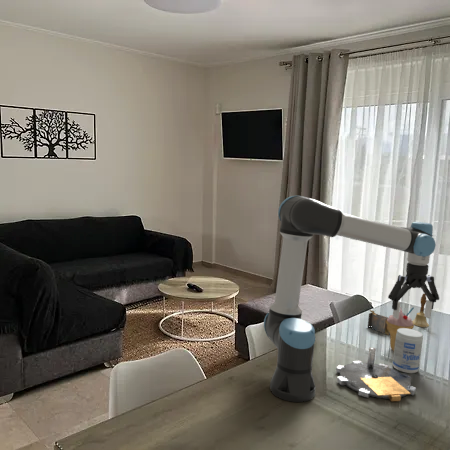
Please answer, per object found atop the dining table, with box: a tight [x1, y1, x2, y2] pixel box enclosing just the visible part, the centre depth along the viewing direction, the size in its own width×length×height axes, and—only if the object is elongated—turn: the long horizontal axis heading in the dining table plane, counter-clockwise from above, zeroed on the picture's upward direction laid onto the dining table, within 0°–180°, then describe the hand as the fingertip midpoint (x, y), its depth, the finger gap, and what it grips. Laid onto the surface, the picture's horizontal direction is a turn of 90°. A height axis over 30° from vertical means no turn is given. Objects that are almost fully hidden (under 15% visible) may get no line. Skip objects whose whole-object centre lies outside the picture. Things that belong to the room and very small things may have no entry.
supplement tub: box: [392, 328, 424, 374], centre depth 175 cm, size 10×10×15 cm
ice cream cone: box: [386, 307, 415, 352], centre depth 193 cm, size 11×11×20 cm
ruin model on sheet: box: [367, 309, 390, 336], centre depth 216 cm, size 11×3×10 cm, turn 41°
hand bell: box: [412, 293, 430, 328], centre depth 229 cm, size 8×8×16 cm
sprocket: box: [335, 347, 417, 402], centre depth 162 cm, size 27×27×9 cm
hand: (411, 317), depth 173 cm, fingers open, 13 cm apart
